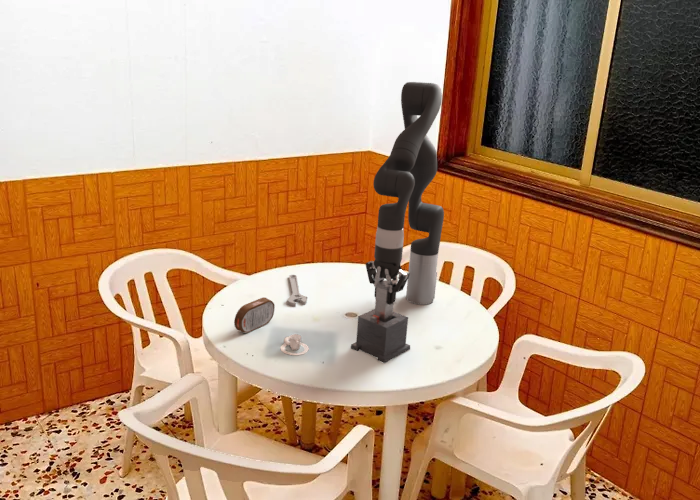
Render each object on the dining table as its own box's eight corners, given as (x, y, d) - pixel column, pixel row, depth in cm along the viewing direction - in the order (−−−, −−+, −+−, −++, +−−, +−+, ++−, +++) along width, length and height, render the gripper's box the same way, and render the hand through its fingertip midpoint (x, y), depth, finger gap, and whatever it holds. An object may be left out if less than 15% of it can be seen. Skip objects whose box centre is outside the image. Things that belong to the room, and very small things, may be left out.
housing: (377, 335, 199) (379, 300, 195) (410, 349, 192) (413, 313, 188) (350, 348, 190) (353, 312, 186) (384, 363, 183) (387, 326, 179)
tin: (268, 318, 205) (268, 293, 203) (276, 321, 204) (276, 296, 201) (233, 334, 194) (233, 308, 191) (241, 338, 192) (241, 311, 189)
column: (379, 341, 193) (384, 279, 187) (390, 345, 191) (395, 283, 185) (371, 345, 190) (376, 283, 184) (382, 350, 188) (387, 287, 182)
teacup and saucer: (282, 341, 193) (283, 328, 191) (310, 343, 192) (310, 330, 191) (278, 355, 184) (278, 342, 183) (307, 357, 184) (308, 344, 183)
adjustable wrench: (288, 278, 239) (288, 274, 238) (306, 279, 239) (306, 274, 239) (287, 307, 215) (287, 302, 214) (307, 307, 215) (307, 302, 215)
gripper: (418, 246, 179) (413, 305, 185) (377, 233, 187) (373, 290, 193) (402, 252, 173) (396, 313, 179) (360, 239, 182) (356, 297, 188)
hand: (384, 301), depth 186 cm, fingers closed on column, 3 cm apart
